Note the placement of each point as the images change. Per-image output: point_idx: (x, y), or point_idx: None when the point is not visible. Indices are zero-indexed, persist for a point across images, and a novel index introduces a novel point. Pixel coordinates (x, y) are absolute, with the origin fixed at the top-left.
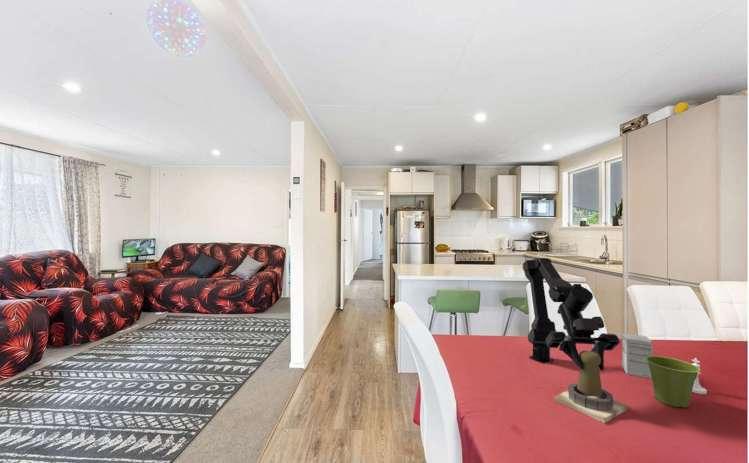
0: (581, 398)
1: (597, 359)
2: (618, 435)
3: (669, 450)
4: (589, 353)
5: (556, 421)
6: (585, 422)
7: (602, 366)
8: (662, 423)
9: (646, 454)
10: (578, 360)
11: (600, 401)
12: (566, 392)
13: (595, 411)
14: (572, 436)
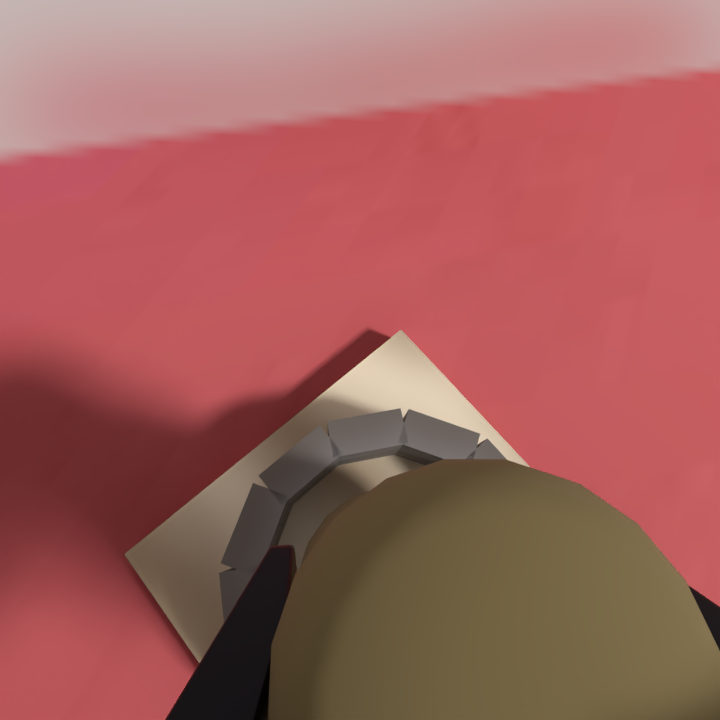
0: None
1: (408, 479)
2: (376, 240)
3: (201, 165)
4: (580, 600)
5: (659, 313)
6: (501, 331)
7: (278, 567)
8: (26, 404)
9: (329, 126)
10: (699, 594)
11: (384, 411)
12: None
13: (417, 408)
14: (607, 198)
